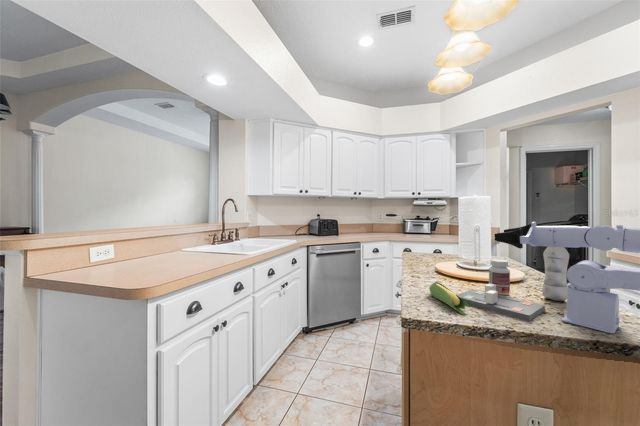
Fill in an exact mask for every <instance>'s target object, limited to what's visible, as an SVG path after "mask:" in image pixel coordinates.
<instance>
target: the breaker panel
mask: <svg viewBox="0 0 640 426" xmlns="http://www.w3.org/2000/svg"><path fill="white" fill-rule="evenodd" d="M456 295H457V296H458V297H460V298H461V299H463V300H464V301H465V302H467V303H468V304H469V306H472V307H475V308H479V309H482V310H487V311H490V312H494V313H498V314H502V315H505V316H509V317H513V318H516V319H519V320H524V321H527V322H530V321H532V320H533V319H535V318H536V317H537V316H539V315H541V314H542V313H543V312H545V311H546V305H545V304H540V303H536V302H532V301H527V300H523V299H519V298H513V297H509V296H507V295H499V294H498V300H497V302H496V303H494V304H490V303H486V295H485V291H483V290H478V289H473V288H471V289H469V290H467V291H464V292H461V293H458V294H456Z"/></svg>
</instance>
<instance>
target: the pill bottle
mask: <svg viewBox="0 0 640 426" xmlns="http://www.w3.org/2000/svg"><path fill="white" fill-rule="evenodd" d="M490 265H491V266H490V267H489V268H488V284H495V285H496V291H497V292H498V295H501V296H508V295H510V293H511V292H510V291H511V288H510V286H511V270H510V269H509V268H508V267H509V261H508V260H506V259H500V258H499V259H498V258H497V259H496V258H494V259H490Z"/></svg>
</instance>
